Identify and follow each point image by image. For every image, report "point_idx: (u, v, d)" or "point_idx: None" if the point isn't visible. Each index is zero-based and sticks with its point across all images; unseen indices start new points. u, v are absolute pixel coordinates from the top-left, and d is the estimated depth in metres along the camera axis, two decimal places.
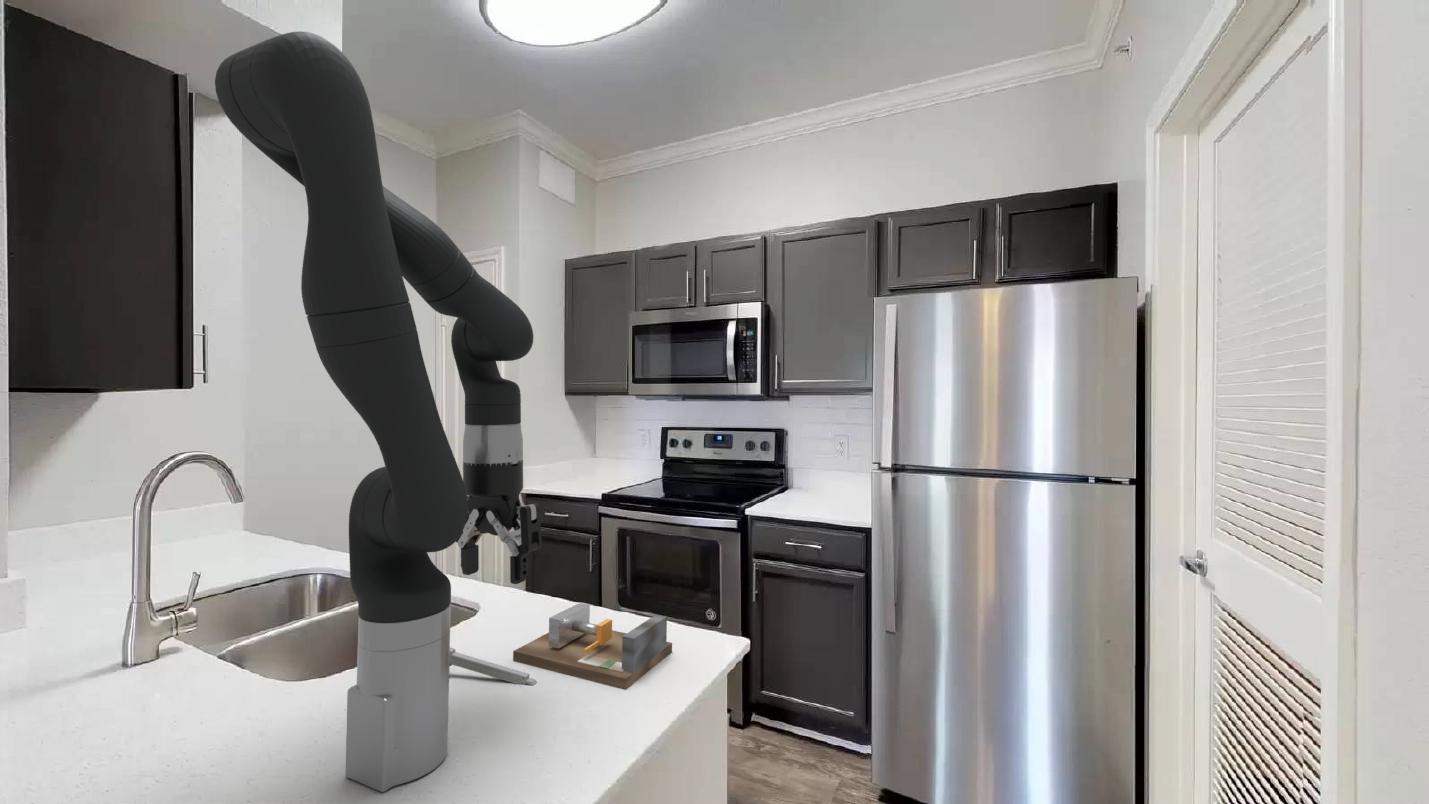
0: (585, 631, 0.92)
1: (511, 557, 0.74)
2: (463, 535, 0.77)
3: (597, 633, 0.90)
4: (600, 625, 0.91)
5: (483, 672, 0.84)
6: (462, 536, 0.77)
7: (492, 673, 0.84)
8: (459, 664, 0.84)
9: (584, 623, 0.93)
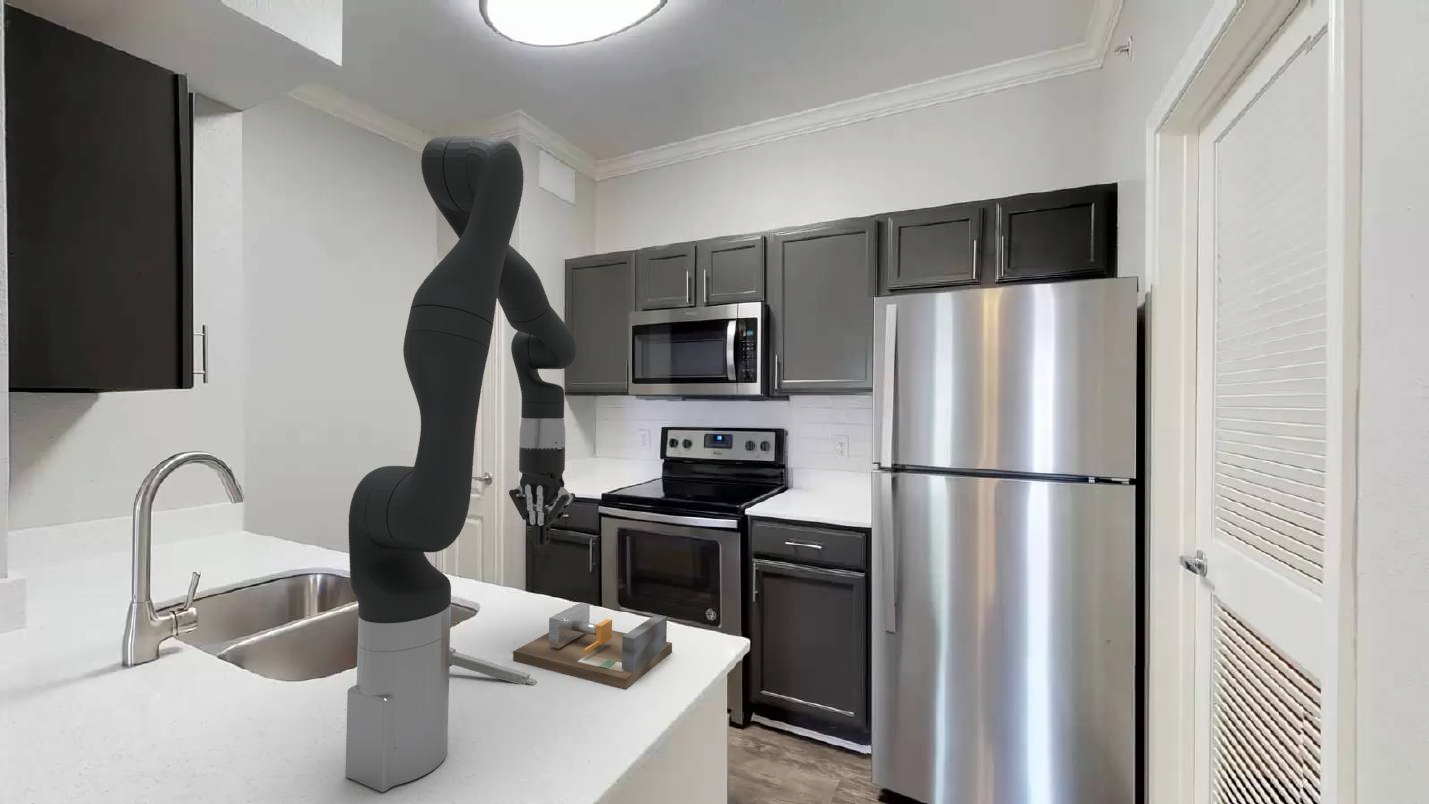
0: (585, 631, 0.92)
1: (537, 526, 0.96)
2: (534, 514, 0.96)
3: (597, 633, 0.90)
4: (600, 625, 0.91)
5: (483, 672, 0.84)
6: (533, 515, 0.96)
7: (492, 673, 0.84)
8: (459, 664, 0.84)
9: (584, 623, 0.93)
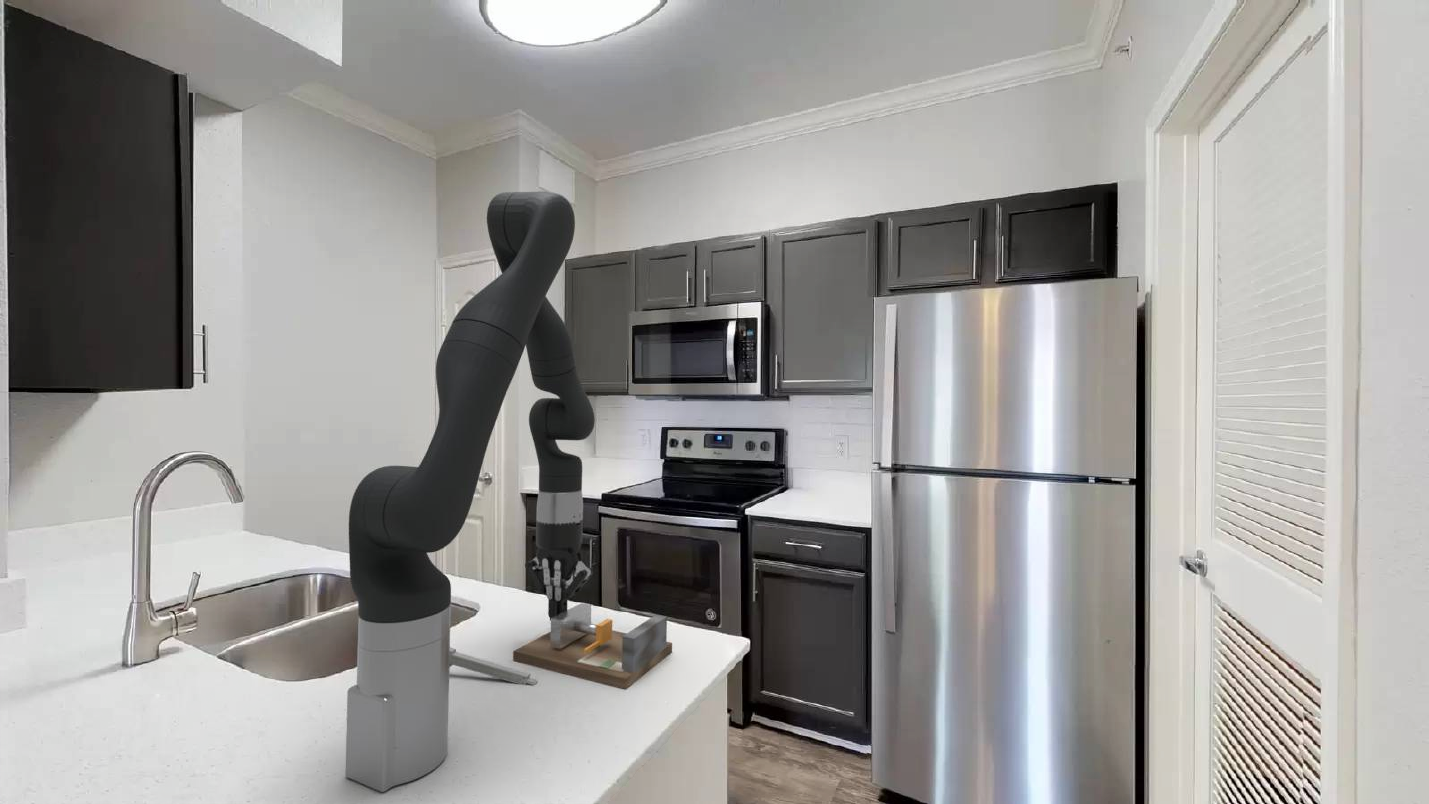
0: (587, 631, 0.92)
1: (554, 601, 0.94)
2: (551, 589, 0.95)
3: (597, 633, 0.90)
4: (600, 625, 0.91)
5: (484, 672, 0.84)
6: (551, 590, 0.95)
7: (493, 673, 0.84)
8: (460, 664, 0.84)
9: (586, 623, 0.93)
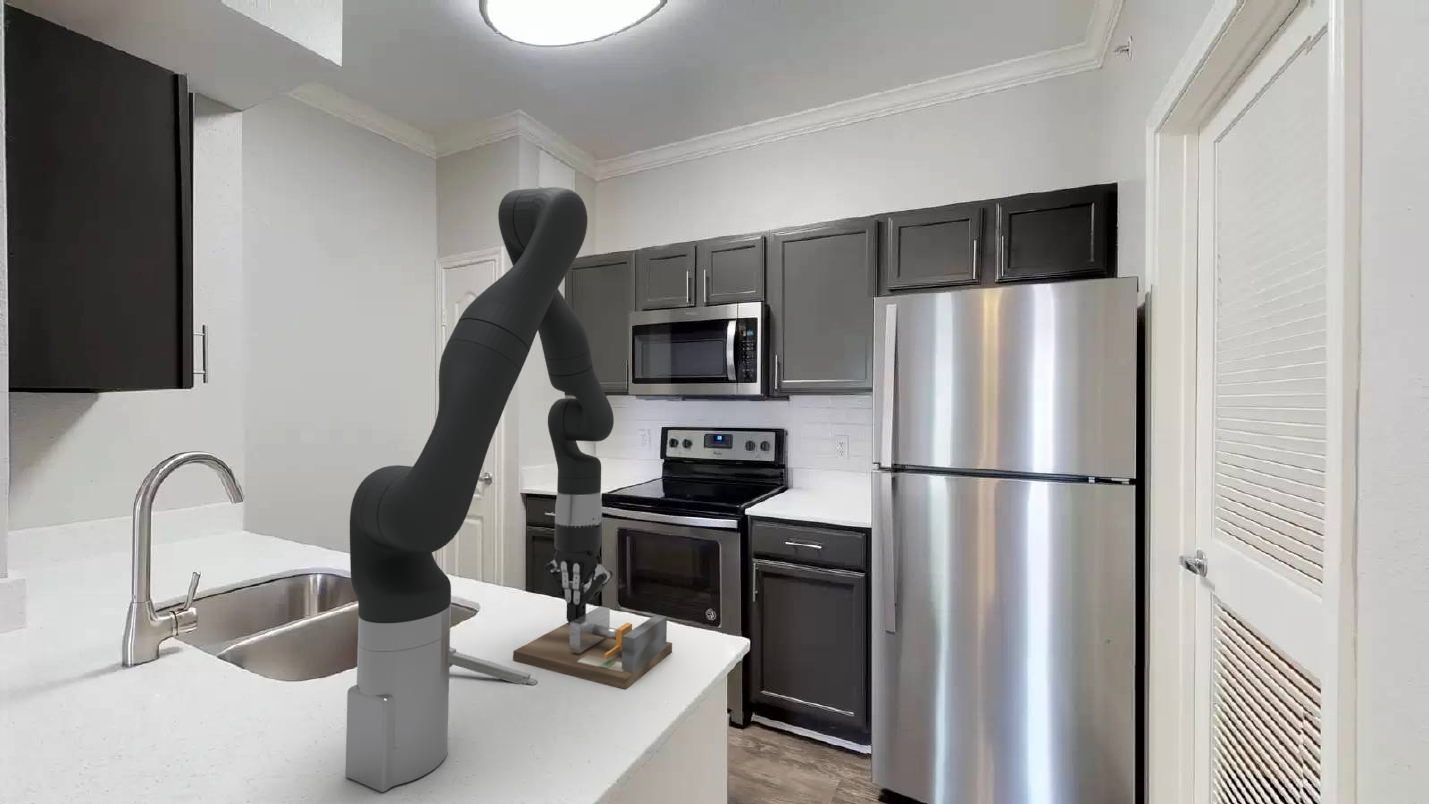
0: (606, 636, 0.91)
1: (573, 604, 0.93)
2: (570, 592, 0.93)
3: (618, 638, 0.89)
4: (620, 629, 0.89)
5: (484, 672, 0.84)
6: (569, 593, 0.93)
7: (493, 673, 0.84)
8: (460, 664, 0.84)
9: (605, 627, 0.91)
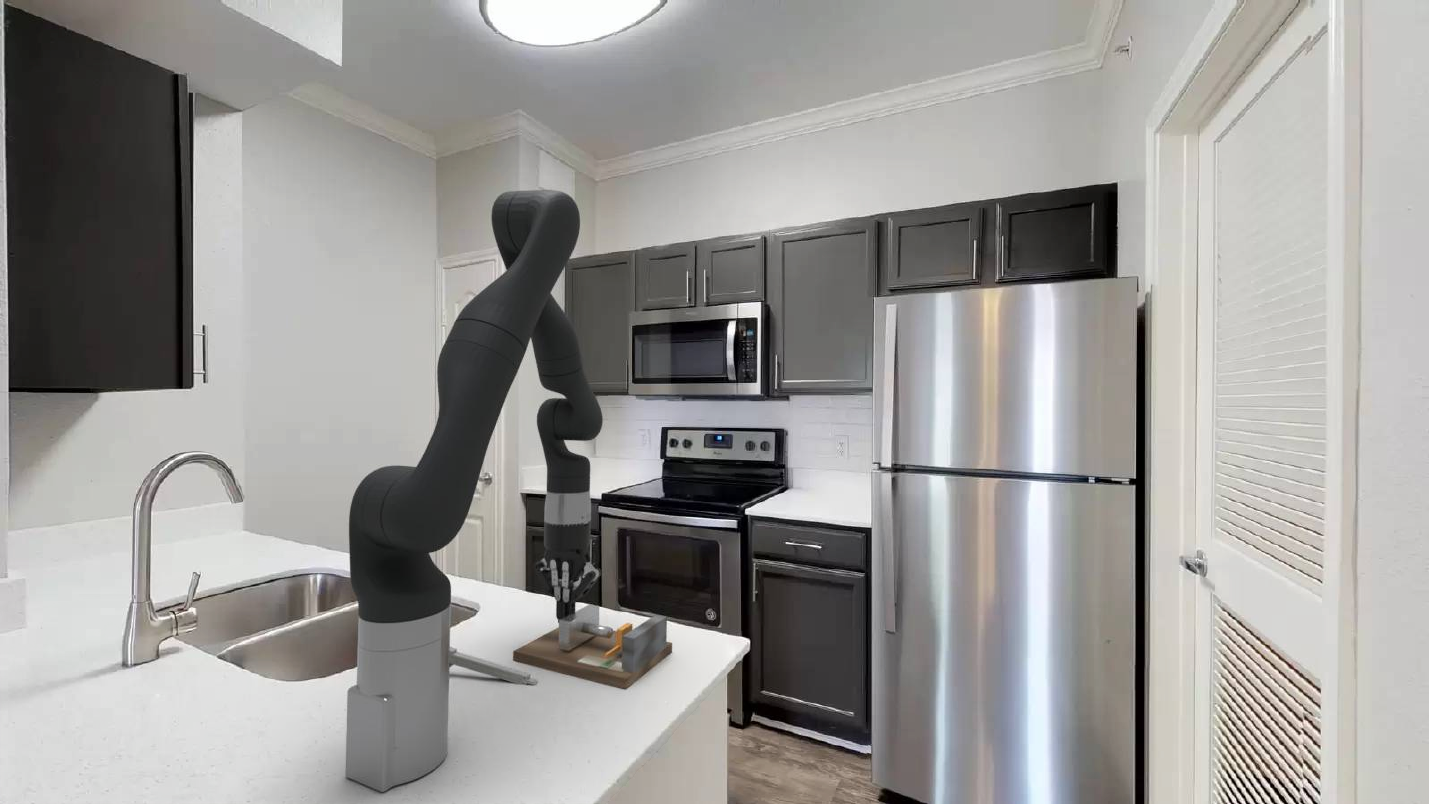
0: (595, 633, 0.92)
1: (562, 602, 0.94)
2: (559, 590, 0.94)
3: (618, 638, 0.89)
4: (621, 629, 0.89)
5: (484, 672, 0.84)
6: (558, 591, 0.94)
7: (493, 673, 0.84)
8: (460, 664, 0.84)
9: (594, 625, 0.92)
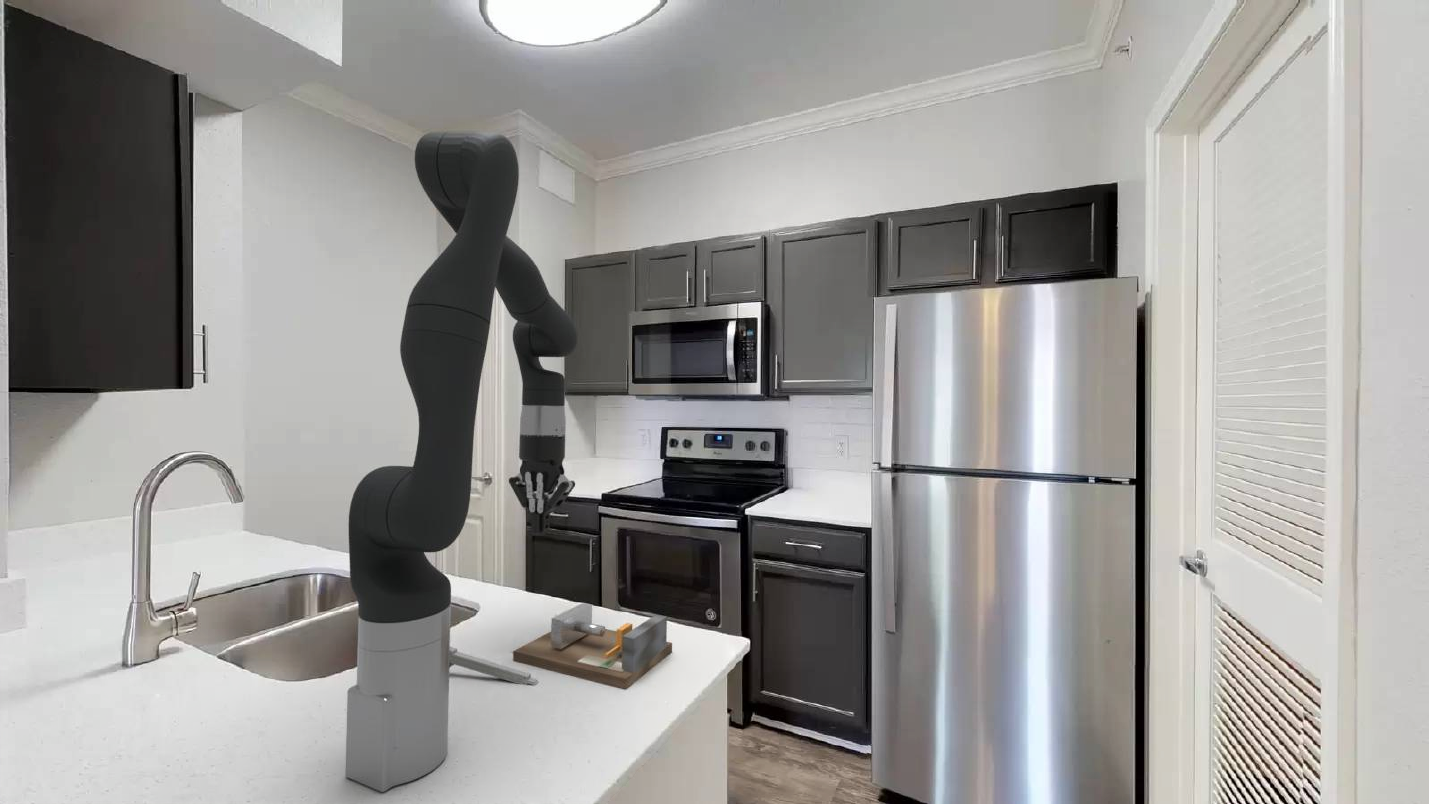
0: (588, 632, 0.92)
1: (537, 513, 0.96)
2: (534, 502, 0.96)
3: (618, 638, 0.89)
4: (621, 629, 0.89)
5: (485, 672, 0.84)
6: (533, 503, 0.97)
7: (494, 673, 0.84)
8: (461, 664, 0.84)
9: (587, 624, 0.93)
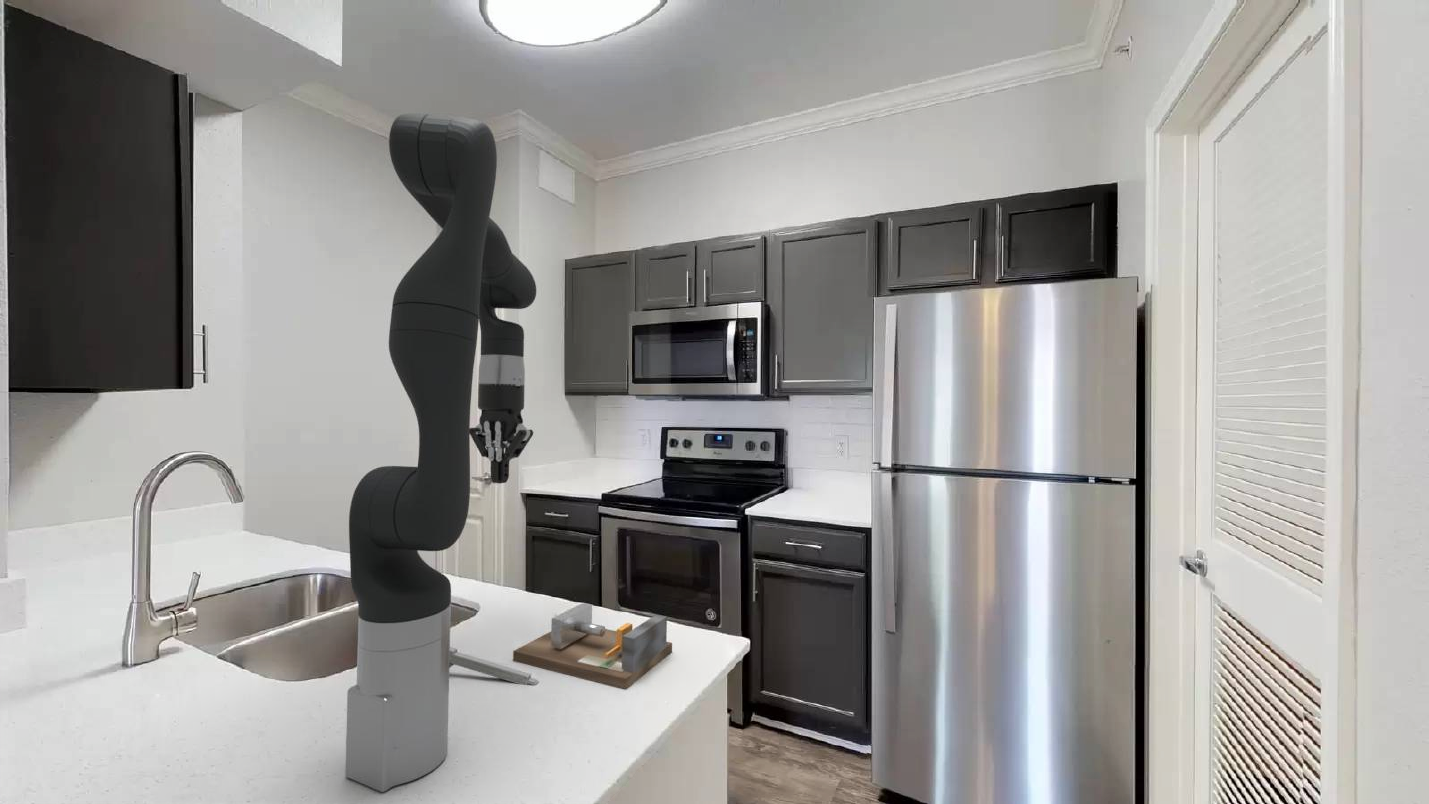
0: (588, 632, 0.92)
1: (496, 462, 0.98)
2: (493, 451, 0.98)
3: (618, 638, 0.89)
4: (621, 629, 0.89)
5: (485, 672, 0.84)
6: (492, 452, 0.98)
7: (494, 673, 0.84)
8: (461, 664, 0.84)
9: (587, 624, 0.93)
